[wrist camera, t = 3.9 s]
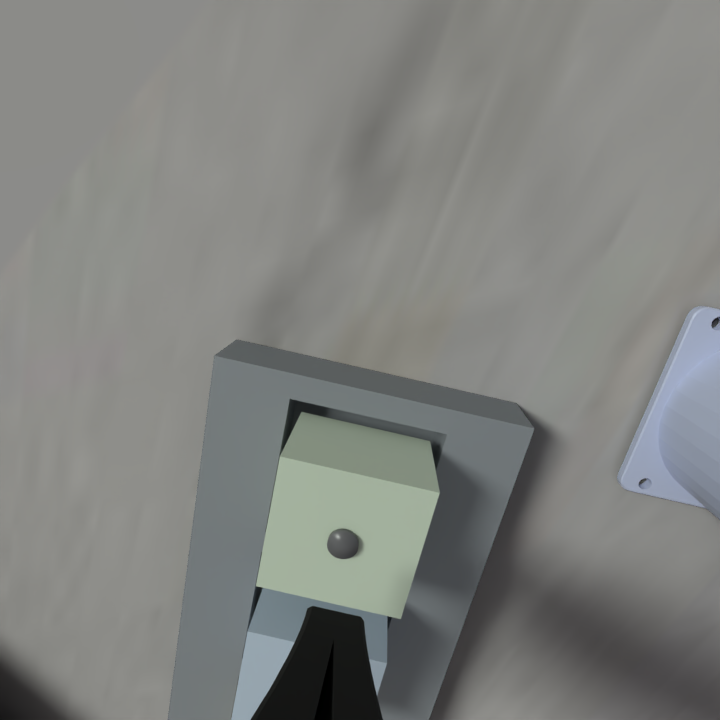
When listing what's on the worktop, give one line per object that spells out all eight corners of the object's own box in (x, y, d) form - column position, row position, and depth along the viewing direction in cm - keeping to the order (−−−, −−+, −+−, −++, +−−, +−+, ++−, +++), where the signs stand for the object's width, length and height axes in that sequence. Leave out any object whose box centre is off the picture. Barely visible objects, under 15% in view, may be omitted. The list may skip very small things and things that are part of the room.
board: (516, 403, 19) (534, 428, 16) (393, 760, 25) (393, 816, 23) (236, 339, 19) (214, 355, 17) (183, 712, 25) (162, 763, 23)
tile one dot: (430, 440, 17) (440, 496, 14) (398, 548, 19) (400, 624, 15) (301, 411, 17) (278, 459, 14) (280, 521, 19) (254, 590, 15)
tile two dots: (387, 587, 19) (386, 668, 16) (362, 673, 21) (356, 766, 17) (272, 560, 19) (245, 636, 16) (255, 649, 21) (227, 737, 17)
